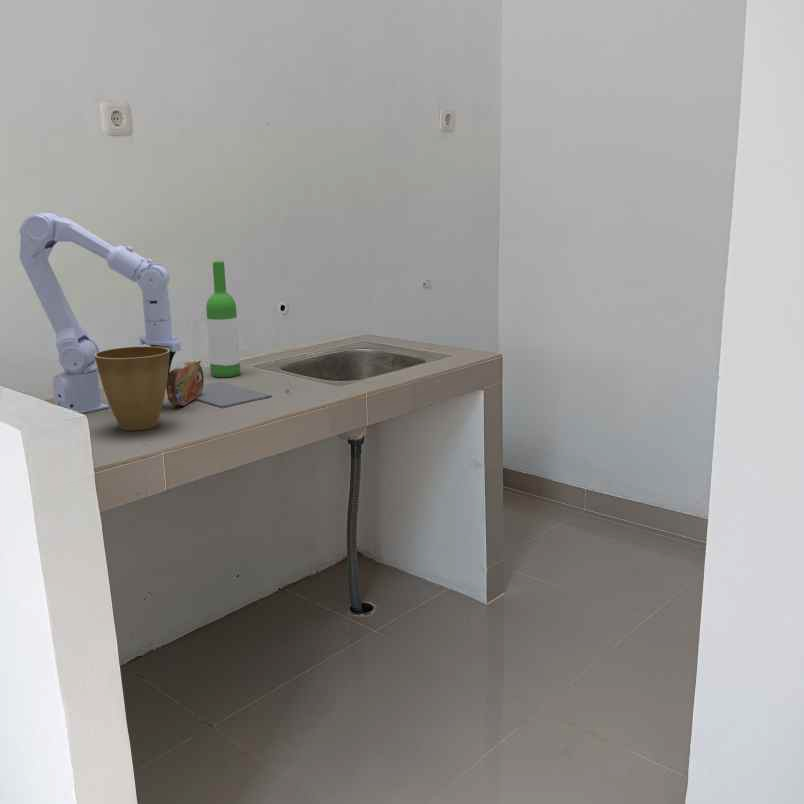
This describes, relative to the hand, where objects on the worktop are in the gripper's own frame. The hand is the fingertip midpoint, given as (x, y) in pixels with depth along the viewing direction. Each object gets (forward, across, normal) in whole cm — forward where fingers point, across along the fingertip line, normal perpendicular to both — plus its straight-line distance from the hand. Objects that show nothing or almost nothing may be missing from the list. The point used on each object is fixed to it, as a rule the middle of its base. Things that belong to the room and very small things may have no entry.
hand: (162, 379), depth 196 cm
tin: (+6, 0, -6) cm, 8 cm away
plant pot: (+7, -11, +12) cm, 18 cm away
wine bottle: (+7, +18, -29) cm, 35 cm away
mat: (+6, 0, -15) cm, 16 cm away
